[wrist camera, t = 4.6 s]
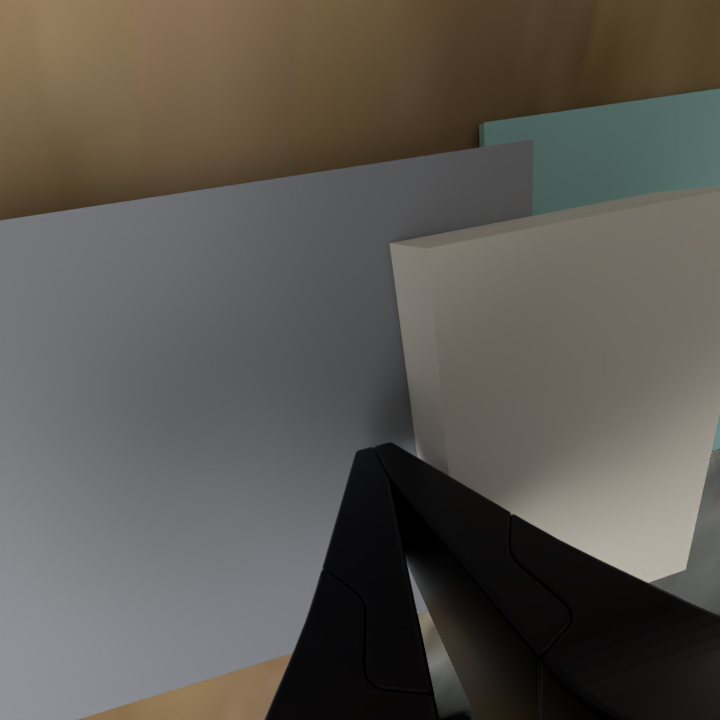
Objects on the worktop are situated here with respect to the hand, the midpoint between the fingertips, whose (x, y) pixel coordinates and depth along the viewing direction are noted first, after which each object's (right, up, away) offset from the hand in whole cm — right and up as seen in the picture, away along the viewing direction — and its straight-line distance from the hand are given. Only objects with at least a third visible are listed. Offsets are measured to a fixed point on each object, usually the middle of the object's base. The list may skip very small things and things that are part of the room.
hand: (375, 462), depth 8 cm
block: (+4, +1, +1) cm, 4 cm away
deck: (-5, +1, +4) cm, 6 cm away
